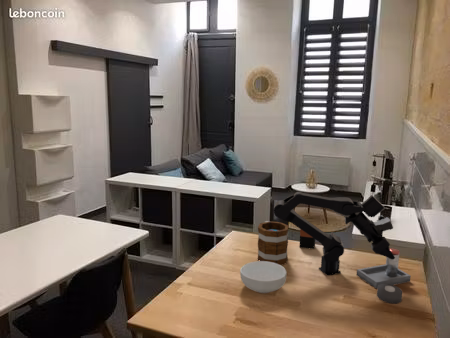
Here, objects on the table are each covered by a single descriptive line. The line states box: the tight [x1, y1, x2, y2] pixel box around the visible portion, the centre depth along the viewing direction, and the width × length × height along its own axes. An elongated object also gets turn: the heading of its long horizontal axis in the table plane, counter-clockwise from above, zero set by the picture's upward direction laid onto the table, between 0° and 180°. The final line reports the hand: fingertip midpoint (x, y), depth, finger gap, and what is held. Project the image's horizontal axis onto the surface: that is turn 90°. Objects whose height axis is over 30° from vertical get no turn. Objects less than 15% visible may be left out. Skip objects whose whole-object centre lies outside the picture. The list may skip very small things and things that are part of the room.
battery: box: [299, 228, 316, 250], centre depth 174 cm, size 4×7×10 cm, turn 70°
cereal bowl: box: [239, 260, 288, 294], centre depth 136 cm, size 17×17×7 cm
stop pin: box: [385, 247, 401, 277], centre depth 144 cm, size 4×4×10 cm
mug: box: [257, 220, 289, 266], centre depth 163 cm, size 20×14×15 cm
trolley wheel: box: [376, 284, 403, 304], centre depth 130 cm, size 8×8×4 cm
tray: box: [356, 263, 412, 289], centre depth 144 cm, size 16×11×2 cm
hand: (391, 253), depth 143 cm, fingers open, 9 cm apart
